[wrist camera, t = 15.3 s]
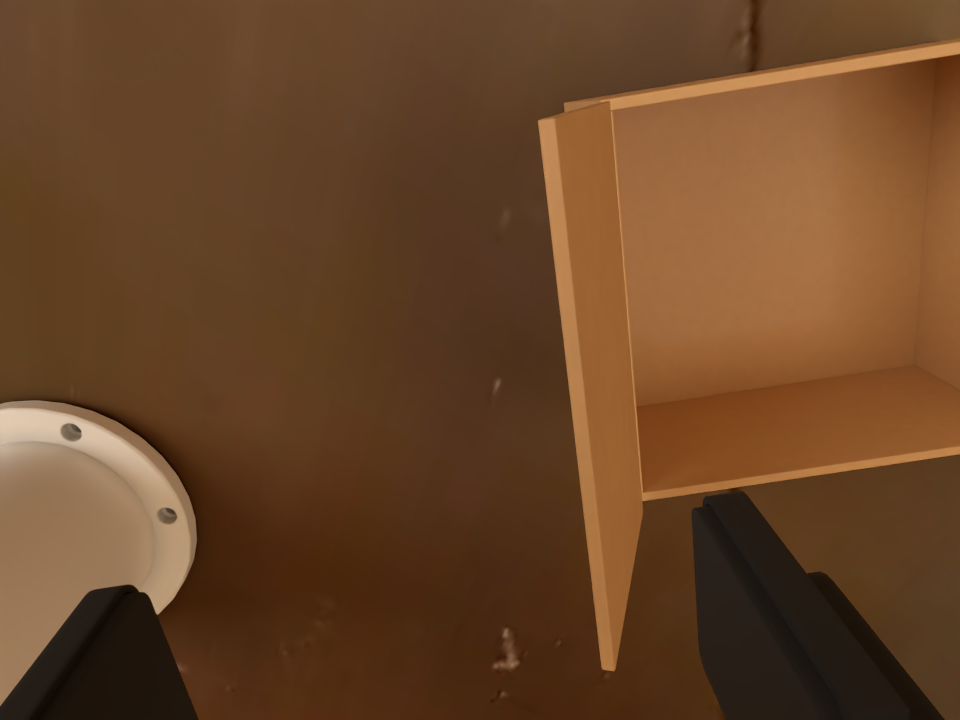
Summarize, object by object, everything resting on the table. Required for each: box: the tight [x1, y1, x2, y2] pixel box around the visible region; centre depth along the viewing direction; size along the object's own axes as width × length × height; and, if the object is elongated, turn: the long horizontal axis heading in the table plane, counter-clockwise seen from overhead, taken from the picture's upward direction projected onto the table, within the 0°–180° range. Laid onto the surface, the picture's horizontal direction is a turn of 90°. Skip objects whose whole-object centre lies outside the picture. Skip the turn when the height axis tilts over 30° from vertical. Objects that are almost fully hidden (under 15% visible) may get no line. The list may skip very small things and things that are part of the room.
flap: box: [538, 101, 643, 671], centre depth 18 cm, size 7×14×1 cm
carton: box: [564, 38, 960, 501], centre depth 25 cm, size 15×14×7 cm
